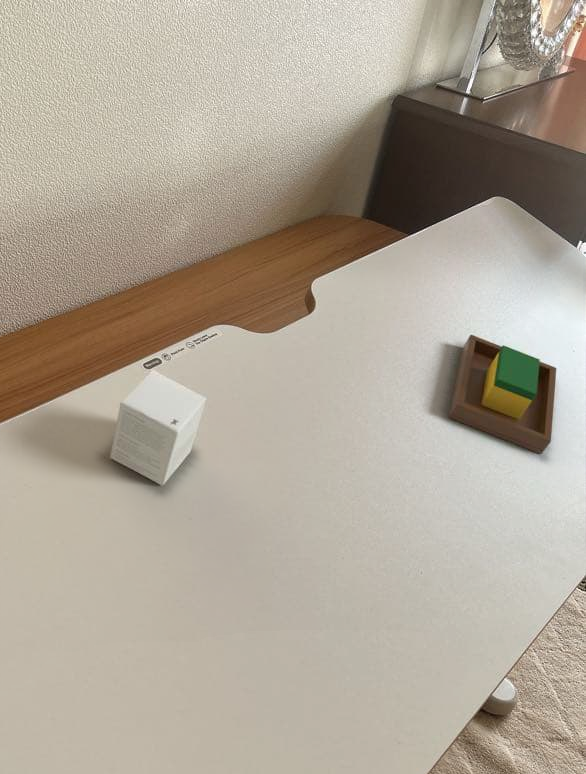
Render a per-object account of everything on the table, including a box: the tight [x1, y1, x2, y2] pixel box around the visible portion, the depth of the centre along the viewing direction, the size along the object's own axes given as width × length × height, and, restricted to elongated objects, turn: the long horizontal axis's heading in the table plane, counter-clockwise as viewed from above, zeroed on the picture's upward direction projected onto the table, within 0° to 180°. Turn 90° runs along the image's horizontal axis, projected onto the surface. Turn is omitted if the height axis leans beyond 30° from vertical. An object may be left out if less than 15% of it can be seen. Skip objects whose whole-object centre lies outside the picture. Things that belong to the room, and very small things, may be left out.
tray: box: [448, 334, 557, 455], centre depth 104 cm, size 15×11×2 cm
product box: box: [109, 369, 207, 486], centre depth 83 cm, size 6×6×7 cm
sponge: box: [481, 344, 541, 419], centre depth 103 cm, size 7×5×4 cm, turn 162°
